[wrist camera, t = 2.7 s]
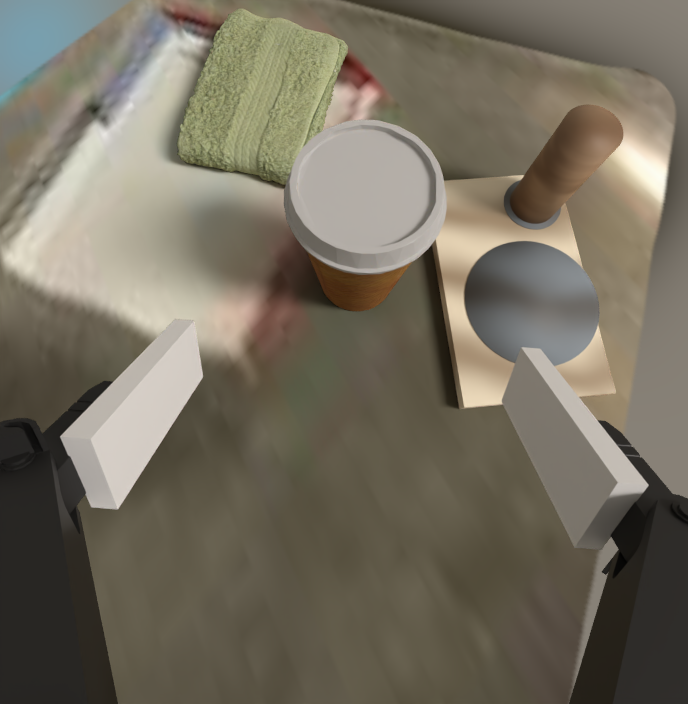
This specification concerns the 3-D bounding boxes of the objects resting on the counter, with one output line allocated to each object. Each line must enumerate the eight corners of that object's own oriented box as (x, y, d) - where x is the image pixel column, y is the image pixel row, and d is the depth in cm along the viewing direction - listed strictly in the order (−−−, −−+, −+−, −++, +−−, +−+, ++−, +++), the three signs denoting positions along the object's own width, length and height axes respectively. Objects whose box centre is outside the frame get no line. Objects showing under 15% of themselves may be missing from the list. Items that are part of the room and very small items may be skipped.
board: (423, 190, 34) (426, 181, 33) (555, 181, 35) (563, 171, 34) (459, 408, 30) (464, 407, 28) (611, 394, 30) (623, 392, 29)
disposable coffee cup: (390, 216, 34) (418, 96, 22) (427, 311, 32) (479, 235, 20) (288, 244, 33) (261, 134, 21) (319, 343, 31) (308, 283, 19)
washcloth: (351, 53, 39) (353, 19, 36) (308, 198, 35) (306, 174, 31) (230, 29, 39) (220, -7, 36) (173, 169, 35) (157, 142, 32)
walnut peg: (505, 185, 33) (557, 106, 25) (549, 182, 33) (614, 102, 26) (514, 225, 32) (571, 156, 24) (559, 222, 32) (630, 152, 25)
